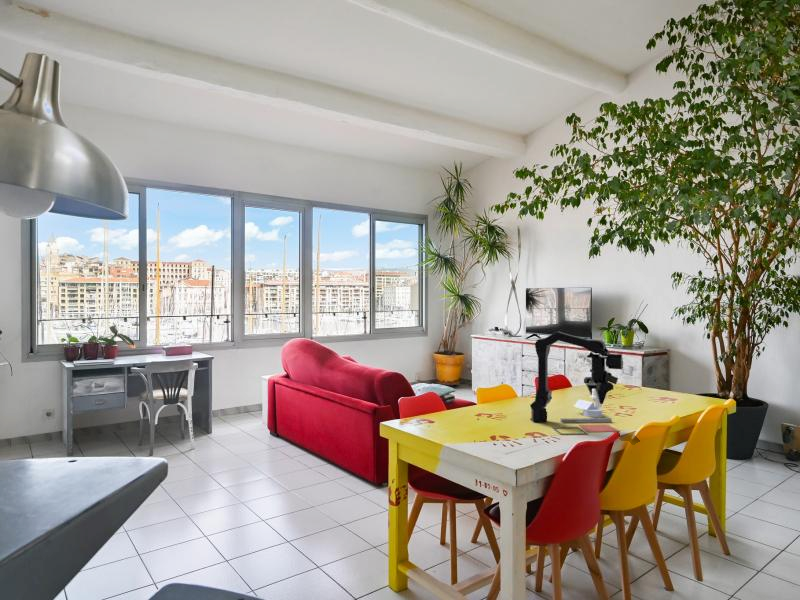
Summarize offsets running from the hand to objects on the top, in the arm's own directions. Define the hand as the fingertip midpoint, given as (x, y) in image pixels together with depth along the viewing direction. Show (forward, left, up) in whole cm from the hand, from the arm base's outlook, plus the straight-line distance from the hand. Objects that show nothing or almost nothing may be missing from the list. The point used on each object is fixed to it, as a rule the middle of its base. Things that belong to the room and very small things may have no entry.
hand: (598, 402), depth 238 cm
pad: (+1, 0, -12) cm, 12 cm away
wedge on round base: (+8, +27, -12) cm, 31 cm away
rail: (0, +12, -12) cm, 17 cm away
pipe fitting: (0, 0, -2) cm, 2 cm away
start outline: (-14, -4, -12) cm, 19 cm away
